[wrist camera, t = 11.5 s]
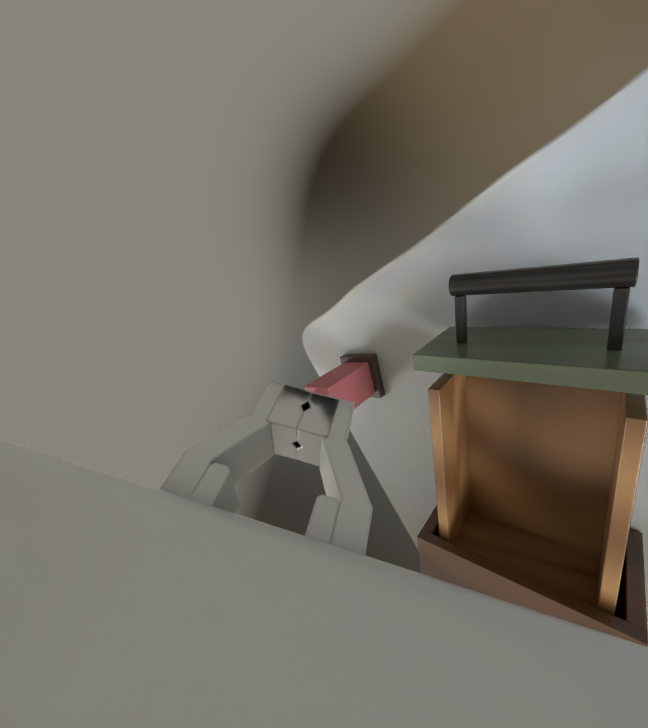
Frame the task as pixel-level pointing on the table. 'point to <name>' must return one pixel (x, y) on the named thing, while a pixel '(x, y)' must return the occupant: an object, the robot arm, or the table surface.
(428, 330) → the table surface
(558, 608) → the cabinet
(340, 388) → the peg doll
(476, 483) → the drawer
